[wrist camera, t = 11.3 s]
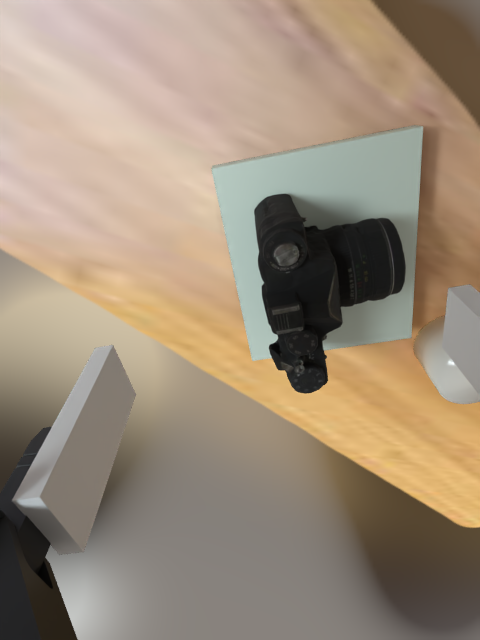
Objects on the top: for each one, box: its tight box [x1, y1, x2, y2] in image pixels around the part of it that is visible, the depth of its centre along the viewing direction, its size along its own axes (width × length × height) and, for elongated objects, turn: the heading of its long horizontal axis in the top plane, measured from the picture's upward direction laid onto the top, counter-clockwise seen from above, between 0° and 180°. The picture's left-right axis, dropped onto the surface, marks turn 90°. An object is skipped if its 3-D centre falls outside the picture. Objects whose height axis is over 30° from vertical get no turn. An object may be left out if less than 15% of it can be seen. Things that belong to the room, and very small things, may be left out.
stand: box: [212, 125, 423, 361], centre depth 35 cm, size 19×16×3 cm
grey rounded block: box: [413, 316, 480, 404], centre depth 39 cm, size 7×7×6 cm
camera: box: [254, 194, 406, 393], centre depth 29 cm, size 14×11×10 cm
